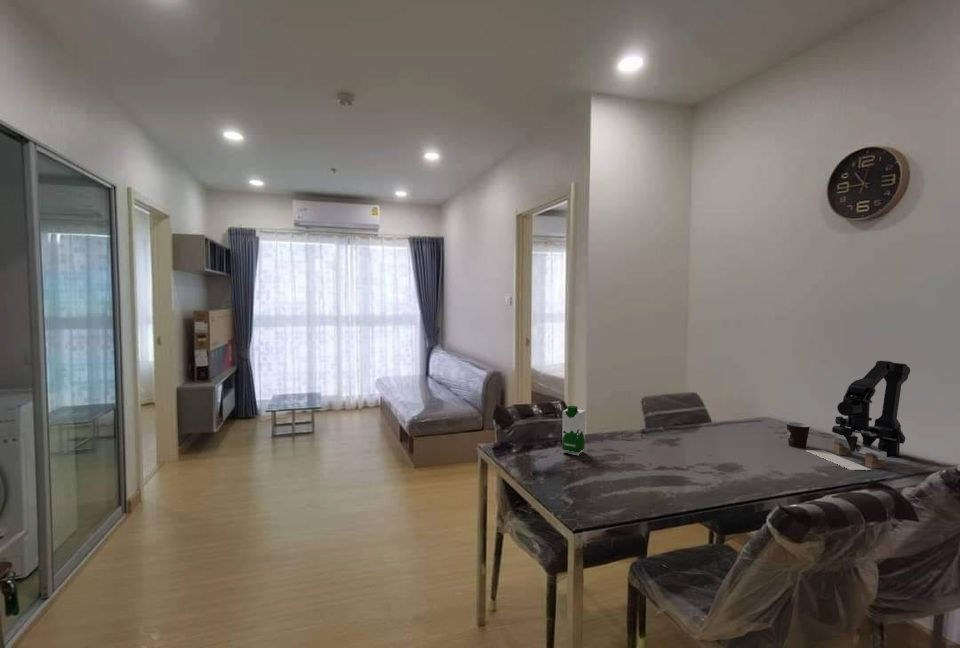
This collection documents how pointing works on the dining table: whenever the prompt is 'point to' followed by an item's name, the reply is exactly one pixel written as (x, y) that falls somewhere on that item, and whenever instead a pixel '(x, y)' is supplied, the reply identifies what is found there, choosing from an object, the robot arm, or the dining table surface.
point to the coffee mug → (797, 434)
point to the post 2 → (874, 462)
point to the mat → (838, 460)
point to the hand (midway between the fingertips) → (858, 451)
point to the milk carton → (573, 429)
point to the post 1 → (841, 449)
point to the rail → (863, 448)
